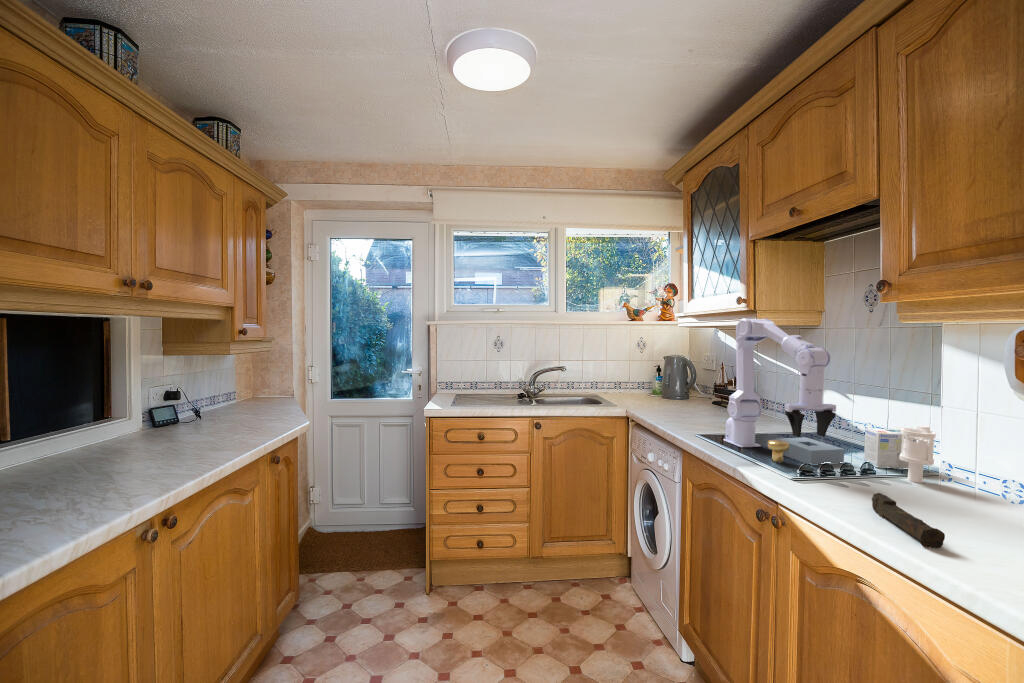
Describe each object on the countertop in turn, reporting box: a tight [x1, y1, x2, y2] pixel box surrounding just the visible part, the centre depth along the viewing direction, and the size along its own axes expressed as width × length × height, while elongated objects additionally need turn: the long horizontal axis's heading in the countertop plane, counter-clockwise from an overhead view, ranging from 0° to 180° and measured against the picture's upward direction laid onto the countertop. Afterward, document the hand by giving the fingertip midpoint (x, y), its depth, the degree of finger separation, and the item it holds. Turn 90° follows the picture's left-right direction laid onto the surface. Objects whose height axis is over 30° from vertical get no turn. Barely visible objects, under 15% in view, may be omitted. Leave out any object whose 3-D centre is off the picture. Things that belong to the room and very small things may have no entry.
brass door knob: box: [767, 439, 789, 463], centre depth 141 cm, size 6×6×6 cm
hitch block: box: [774, 437, 845, 465], centre depth 145 cm, size 14×12×4 cm
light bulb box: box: [863, 428, 918, 468], centre depth 138 cm, size 11×7×11 cm, turn 84°
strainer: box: [899, 425, 937, 484], centre depth 125 cm, size 7×7×15 cm
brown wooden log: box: [871, 492, 946, 549], centre depth 97 cm, size 19×4×5 cm, turn 168°
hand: (808, 435), depth 133 cm, fingers open, 7 cm apart
